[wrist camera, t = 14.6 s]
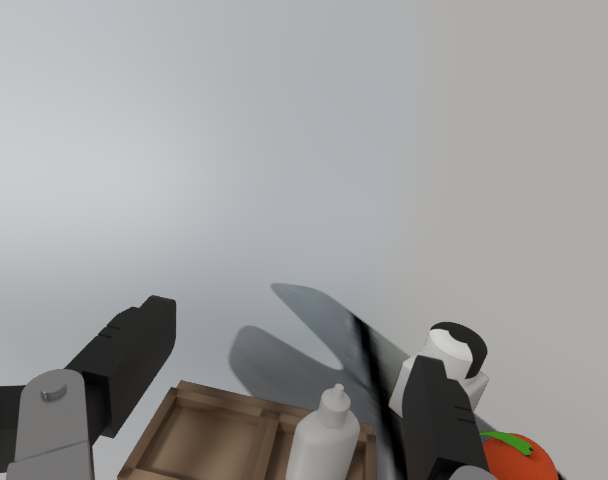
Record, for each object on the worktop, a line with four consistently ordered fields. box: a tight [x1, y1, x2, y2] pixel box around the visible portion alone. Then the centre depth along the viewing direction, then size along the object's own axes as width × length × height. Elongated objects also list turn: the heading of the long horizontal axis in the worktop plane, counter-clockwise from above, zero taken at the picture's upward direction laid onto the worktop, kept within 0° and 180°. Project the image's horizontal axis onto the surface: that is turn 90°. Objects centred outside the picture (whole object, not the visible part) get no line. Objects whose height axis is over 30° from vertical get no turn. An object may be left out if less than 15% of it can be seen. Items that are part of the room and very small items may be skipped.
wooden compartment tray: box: [117, 380, 377, 480], centre depth 37 cm, size 22×15×2 cm
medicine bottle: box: [389, 322, 489, 419], centre depth 45 cm, size 7×7×12 cm
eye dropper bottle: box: [285, 384, 360, 480], centre depth 34 cm, size 4×6×12 cm
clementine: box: [479, 431, 558, 480], centre depth 38 cm, size 8×7×7 cm
